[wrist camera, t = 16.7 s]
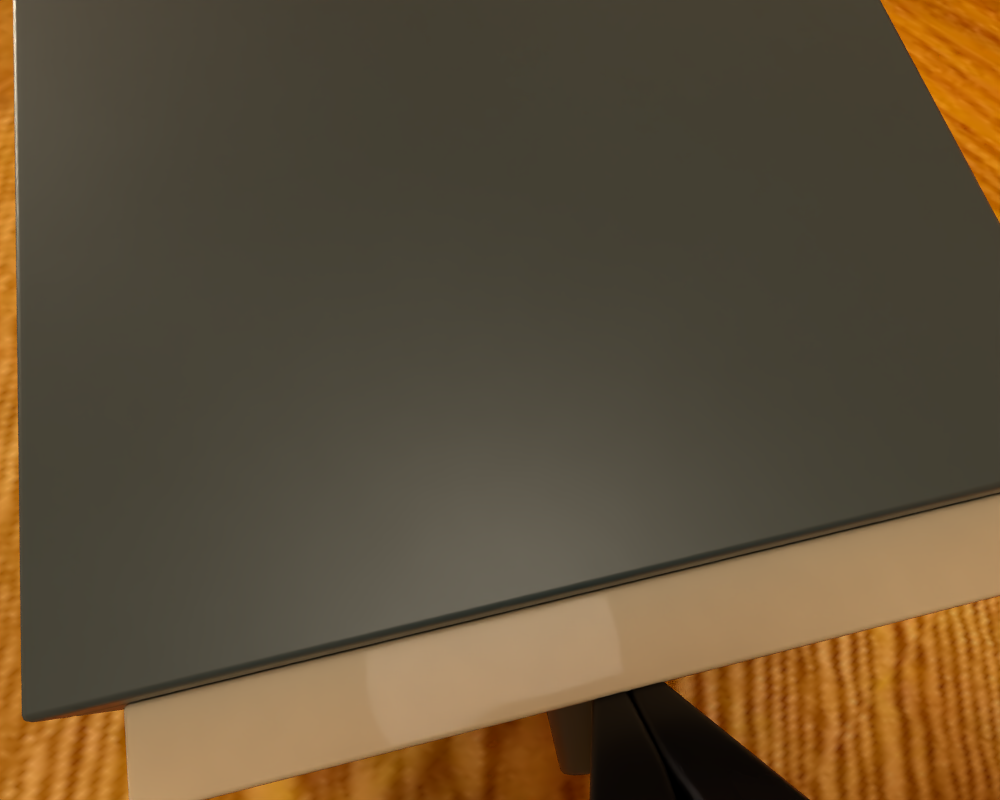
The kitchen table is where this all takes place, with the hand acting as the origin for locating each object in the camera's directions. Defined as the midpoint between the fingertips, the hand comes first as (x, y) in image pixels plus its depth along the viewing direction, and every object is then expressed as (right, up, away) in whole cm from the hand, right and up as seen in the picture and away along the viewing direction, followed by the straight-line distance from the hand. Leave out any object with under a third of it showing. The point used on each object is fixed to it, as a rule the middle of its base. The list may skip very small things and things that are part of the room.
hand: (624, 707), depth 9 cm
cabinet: (-2, +5, +9) cm, 11 cm away
